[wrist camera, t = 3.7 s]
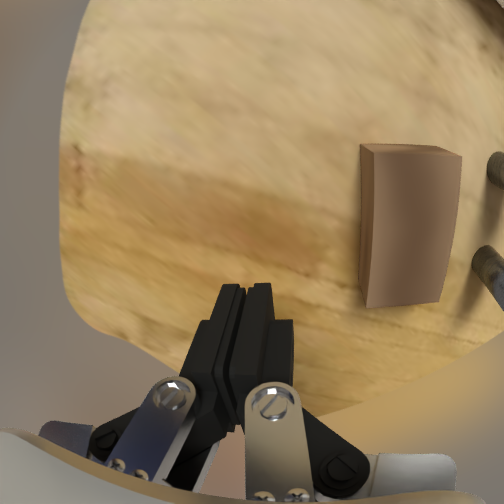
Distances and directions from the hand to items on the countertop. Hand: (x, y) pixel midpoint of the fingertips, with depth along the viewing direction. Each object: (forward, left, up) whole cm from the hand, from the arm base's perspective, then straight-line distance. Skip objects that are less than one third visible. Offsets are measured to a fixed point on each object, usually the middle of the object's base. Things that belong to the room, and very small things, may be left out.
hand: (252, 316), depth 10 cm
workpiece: (-8, 0, -9) cm, 12 cm away
